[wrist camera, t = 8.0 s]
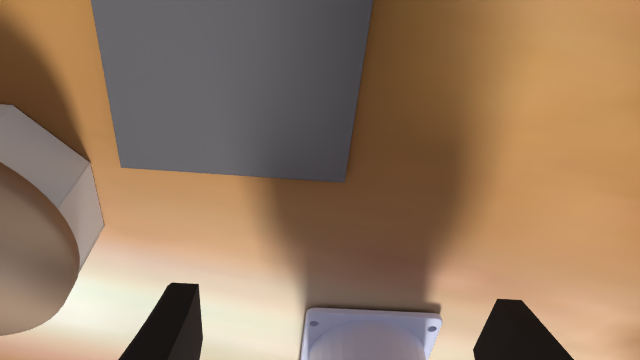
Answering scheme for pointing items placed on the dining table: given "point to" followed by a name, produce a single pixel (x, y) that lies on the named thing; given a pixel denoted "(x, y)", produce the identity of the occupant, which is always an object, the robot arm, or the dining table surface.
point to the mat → (234, 84)
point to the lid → (32, 255)
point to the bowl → (53, 174)
